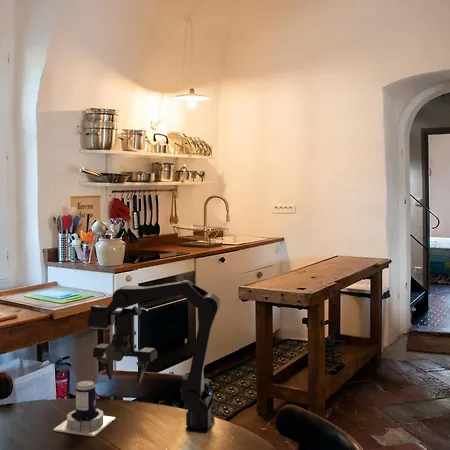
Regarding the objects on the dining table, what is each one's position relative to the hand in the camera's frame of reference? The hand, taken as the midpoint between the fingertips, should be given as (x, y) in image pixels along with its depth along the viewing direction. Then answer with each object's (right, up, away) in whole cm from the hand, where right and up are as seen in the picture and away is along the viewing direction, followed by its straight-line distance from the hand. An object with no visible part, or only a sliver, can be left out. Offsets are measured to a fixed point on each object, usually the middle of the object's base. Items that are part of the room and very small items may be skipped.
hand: (124, 381), depth 173 cm
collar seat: (-12, -13, 0) cm, 17 cm away
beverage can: (-11, -13, 0) cm, 17 cm away
